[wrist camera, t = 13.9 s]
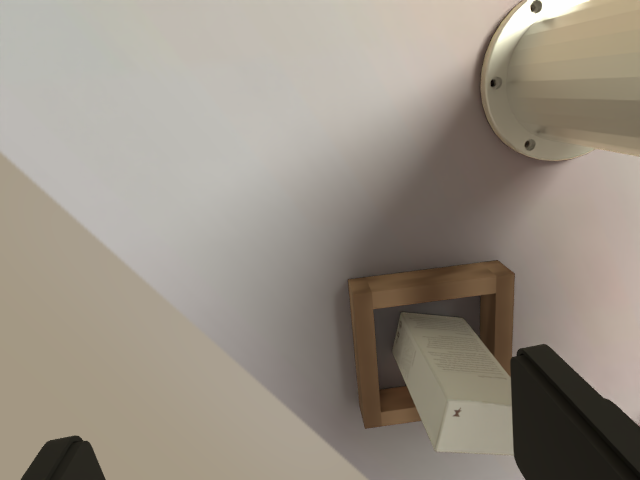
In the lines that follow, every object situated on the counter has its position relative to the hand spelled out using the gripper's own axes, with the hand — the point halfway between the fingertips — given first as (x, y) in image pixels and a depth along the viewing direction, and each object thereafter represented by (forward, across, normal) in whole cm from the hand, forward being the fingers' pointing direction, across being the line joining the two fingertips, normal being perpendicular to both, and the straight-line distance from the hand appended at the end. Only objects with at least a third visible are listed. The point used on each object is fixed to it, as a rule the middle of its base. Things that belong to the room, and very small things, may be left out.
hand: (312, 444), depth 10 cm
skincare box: (+27, -10, +15) cm, 32 cm away
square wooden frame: (+27, -9, +15) cm, 32 cm away
